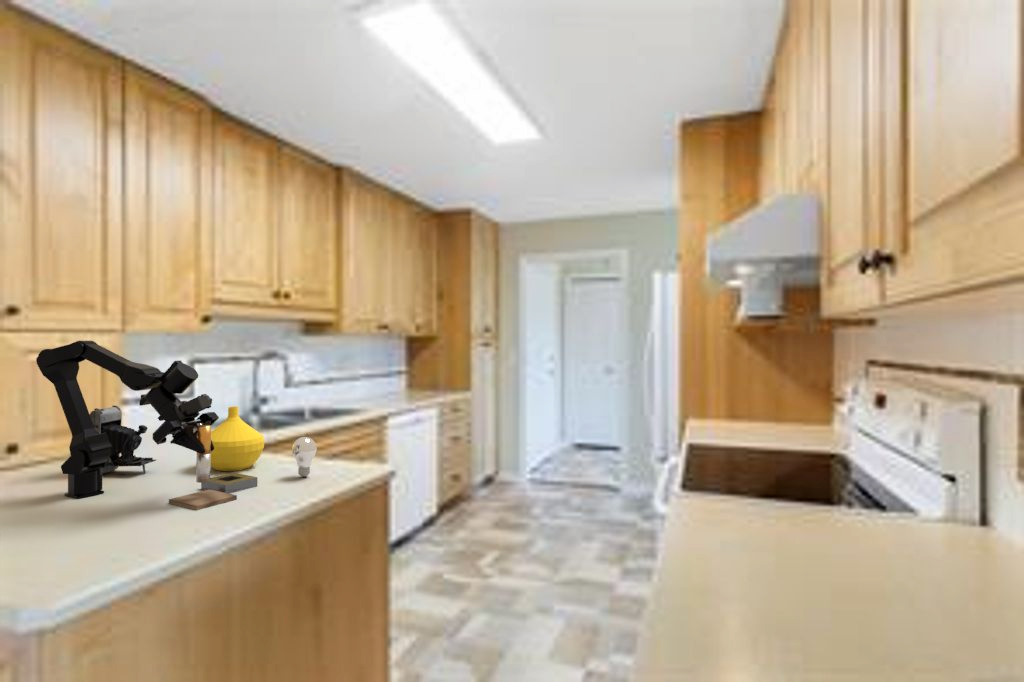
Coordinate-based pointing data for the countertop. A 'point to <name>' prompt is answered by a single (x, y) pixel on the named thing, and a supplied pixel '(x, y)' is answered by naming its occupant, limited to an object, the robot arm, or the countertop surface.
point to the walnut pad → (202, 499)
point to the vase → (235, 444)
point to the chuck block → (230, 483)
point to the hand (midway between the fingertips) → (208, 451)
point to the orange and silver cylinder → (203, 459)
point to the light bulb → (304, 454)
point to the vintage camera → (119, 439)
